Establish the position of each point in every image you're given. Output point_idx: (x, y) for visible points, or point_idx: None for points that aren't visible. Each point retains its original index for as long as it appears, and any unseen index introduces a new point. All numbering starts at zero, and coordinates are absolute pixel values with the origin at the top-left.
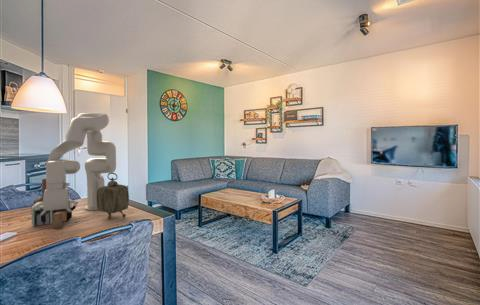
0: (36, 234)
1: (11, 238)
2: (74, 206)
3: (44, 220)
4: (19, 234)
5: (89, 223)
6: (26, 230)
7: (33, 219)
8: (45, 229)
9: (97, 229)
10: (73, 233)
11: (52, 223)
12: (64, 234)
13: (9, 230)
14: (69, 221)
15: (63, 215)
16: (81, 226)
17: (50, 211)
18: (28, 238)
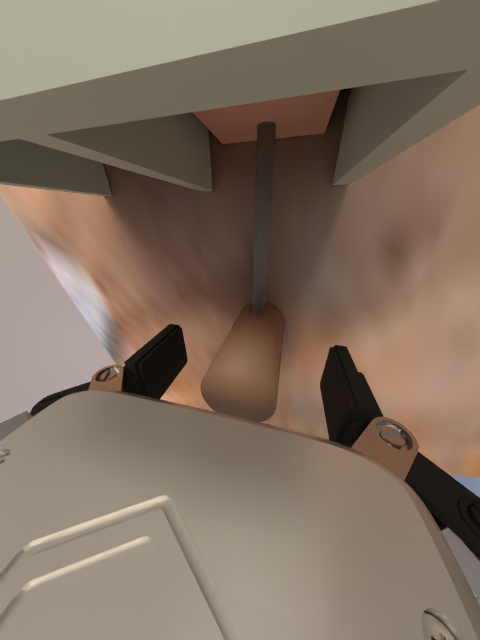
0: (189, 363)
1: (122, 353)
2: (468, 572)
3: (176, 374)
4: (122, 322)
5: (469, 351)
6: (118, 273)
7: (54, 188)
8: (204, 313)
9: (439, 462)
10: (325, 438)
11: (211, 182)
12: (292, 426)
13: (32, 219)
14: (346, 184)
15: (297, 102)
16: (389, 378)
17: (110, 163)
18: (179, 387)
